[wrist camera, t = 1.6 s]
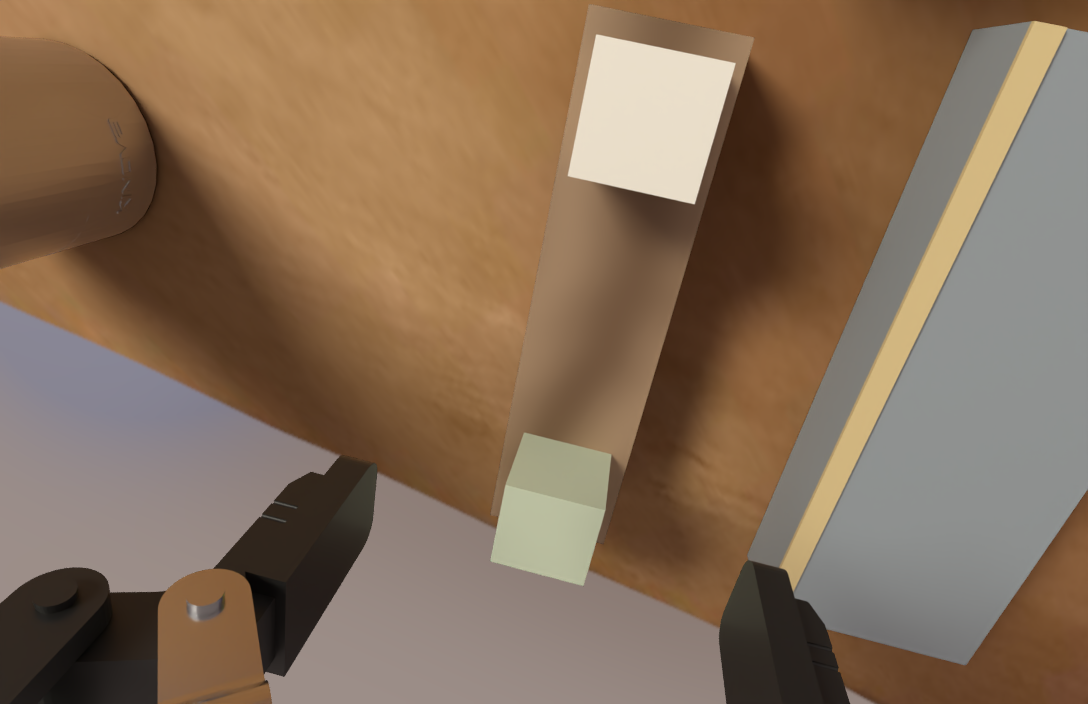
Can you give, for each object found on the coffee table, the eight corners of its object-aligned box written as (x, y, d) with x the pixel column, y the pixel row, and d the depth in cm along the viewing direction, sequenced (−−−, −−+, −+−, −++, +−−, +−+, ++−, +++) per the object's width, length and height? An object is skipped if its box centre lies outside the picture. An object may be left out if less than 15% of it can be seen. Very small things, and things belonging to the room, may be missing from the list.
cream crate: (580, 160, 23) (567, 176, 20) (605, 41, 21) (596, 34, 18) (687, 184, 23) (694, 204, 19) (721, 65, 21) (735, 63, 18)
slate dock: (747, 554, 34) (759, 614, 31) (972, 30, 23) (1035, 21, 20) (931, 602, 34) (967, 669, 30) (1251, 85, 23) (1372, 87, 19)
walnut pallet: (509, 462, 34) (490, 514, 30) (599, 15, 25) (589, 3, 21) (609, 488, 34) (603, 544, 30) (737, 44, 25) (754, 37, 21)
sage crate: (509, 502, 30) (490, 561, 26) (524, 432, 28) (505, 484, 25) (591, 523, 30) (583, 586, 26) (611, 454, 28) (605, 510, 24)
